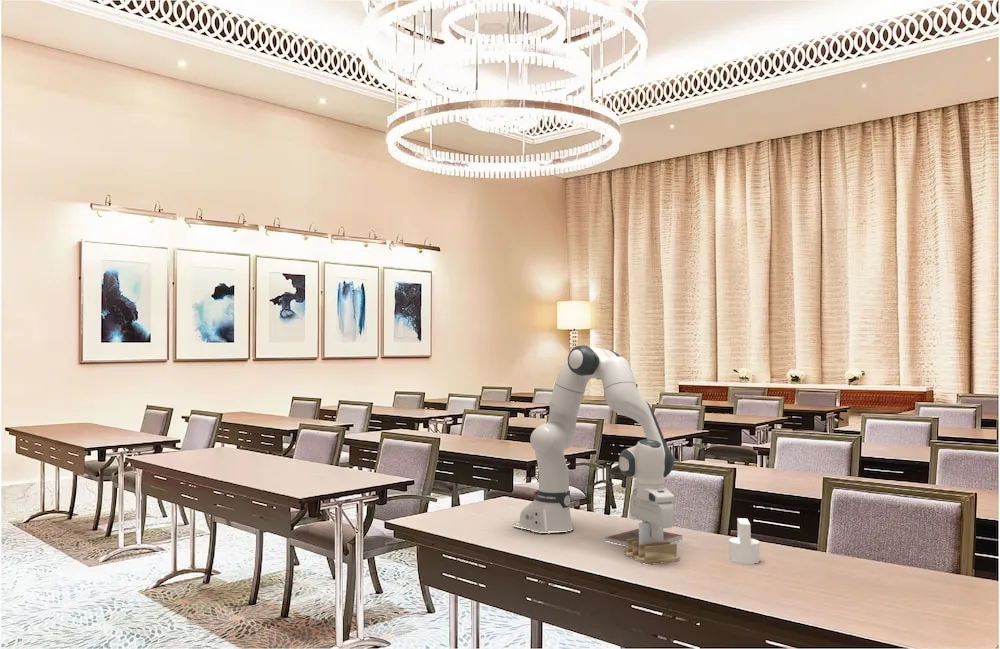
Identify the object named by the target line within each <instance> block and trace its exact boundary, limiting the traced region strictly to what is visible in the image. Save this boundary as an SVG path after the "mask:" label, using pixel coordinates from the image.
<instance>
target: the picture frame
mask: <svg viewBox="0 0 1000 649" xmlns="http://www.w3.org/2000/svg"><path fill="white" fill-rule="evenodd" d="M633 538H639V528H635V529H633V530H632V529H631V530H628V531H624V532H621V533H616V534H612V535H609V536H605V537H604V542H605V541H610V542H613V543H617V544H621V545H625V546H627V539H633ZM663 539H664V541H670V544H673V543H672V542H674V543H676V542H675V541H677V542H680V541H679V540H681V541H683V534H678V533H673V532H669V531H664V530H663Z"/></svg>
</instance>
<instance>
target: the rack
mask: <svg viewBox="0 0 1000 649" xmlns="http://www.w3.org/2000/svg"><path fill="white" fill-rule="evenodd" d="M677 547H678V546H677V543H670V541H664V539H663V542H654V543H645V544H639V538H633V539H627V547H626V551H623V555H624V554H626V555H628V556H630V557H632V558H634V559H633V560H635V559H636V560H635V561H637V560H638V561H637V562H639V561H640V562H639V563H641V562H642V563H641V564H643V563H645V564H650V565H654V564H653V563H659V564H662V563H661V562H667V563H673V562H672V561H675V562H680V561H681V560H680V557H679V556H678V553H677ZM626 555H625V556H626ZM628 556H627V557H628ZM630 557H629V558H630ZM632 558H631V559H632ZM645 564H644V565H645Z"/></svg>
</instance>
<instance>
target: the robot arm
mask: <svg viewBox="0 0 1000 649" xmlns="http://www.w3.org/2000/svg"><path fill="white" fill-rule="evenodd" d="M559 370H560V371H559V373H558V375H557V378H556V379H555V383H554V386H553V389H552V393H551V395H550V399H549V402H548V406H549V413H548V414H549V415H548V419H547V422H546V423H543V424H539V425H538V426H537V427H536V428H535V429H534V430H533V431H532V432H531V435H530V438H529V440H530V445H531V447H532V448H533V450H534V452H535V453H534V454H535V459H536V463H537V467H538V469H537V470H538V489H537V490H535V491H533V492H532V496H535V497H534V500H533V501H531V502H530V503H529V504H528V505H526V506H525V507H524V508H522V509H521V511H520V514H519V515H520V516H519V521H516V522H515V523H519V524H515V523H514V524H513V526H514V525H515V526H519V527H523V528H526V529H530V530H534V531H538V532H548V531H568V530H571V529H573V528H574V525H573V522H572V515H571V509H570V506H571V490H570V469H569V467H568V465H567V462H566V457H565V452H564V451H565V450H567V449H568V448H570V447H571V445H573V443H574V442H575V440H576V436H577V435H576V434H577V433H576V427H577V420H578V414H579V411H580V407H581V403H582V400H583V398H584V394H585V391H586V387H587V385H588V383H589V381H591V379H596V380H601V382H602V387H603V394H604V397H605V401H606V404H607V406H608V408H609V409H611V410H612V411H613V412H615V413H616V414H618V415H620V416H623V417H628V418H630V419H632V420H634V421H635V422H637V423H638V424H639V425H640V426H641V428H642V429H643V430H642V431H643V433H644V436H645V439H640V440H639V441H637V443H636V444H635V445H634V446H631V447H629V448H625V449H623V450H622V451H621V452H620V454H619V456H618V459H617V460H618V462H617V464H618V469H619V471H620V472H621V474H622V475H624V476H625V477H626V478H629V479H631V478H633V479H635V478H636V482H635V483H636V487H635V488H634V489H633V490H632V494H631V496H630V500H629V513H630V516H631V517H633V518H635V519H638V520H641V521H642V522H641V523H644V522H648V523H651V527H652V531H651V532H650V537H652V538H657V532H658V530H659V527H662V528H663V529H669V528H673V526H674V524H675V507H674V504H673V503H674V502H675V495H674V494H673V493H672V492H671V491H670V490H669V489H668V488H667V487H666V481H665V478H666V477H667V476H669V474H670V473H671V472H672V470H673V469H674V467H675V459H674V455H673V453H672V451H671V450H670V448H669V447H668V445H667V442H666V440H665V438H664V435H663V433H662V432H663V431H662V430H661V428H660V424H659V423H658V420H657V417H656V415H655V412H654V410H653V409H652V407H651V404H650V403H649V402H648V401H646V400H645V399H644V397H643V396H642V395H641V394H640V392H639V389H638V388H637V387H638V386H637V383H636V379H635V376H634V373H633V370H632V368H631V365H630V364H629V361H628V360H627V359H626V358H625V357H623V356H621V355H620V354H619V353H617V352H615V351H613V350H608V349H606V348H603V347H599V346H596V347H595V346H589V345H582V344H581V345H577V346H574V347H573V348H572V349H571V350H570V351H569V354H568V355H567V359H566V360H565V361H564V363H563V364H562V367H561V369H559Z"/></svg>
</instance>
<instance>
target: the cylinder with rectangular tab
mask: <svg viewBox="0 0 1000 649" xmlns="http://www.w3.org/2000/svg"><path fill="white" fill-rule="evenodd" d="M736 520H737V524H736V525H737V526H736V527H737V528H736V530H737V531H736V532H737V537H731V538H729V540H728V560H729V559H730V560H731V561H730V560H729V561H730V562H732V561H734V562H737V563H736V564H738V563H744V564H743V565H753V564H752V563H757V564H759V563H760V562H759V561H760V558H761V557H760V554H761V553H760V540H757V539H755V538H752V537H751V535H752V534H751V533H752V532H751V530H752V529H751V523H750V521H749V519H748V518H745V517H744V518H741V517H740V518H739V517H737V518H736ZM734 562H733V563H734ZM758 562H759V563H758Z"/></svg>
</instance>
